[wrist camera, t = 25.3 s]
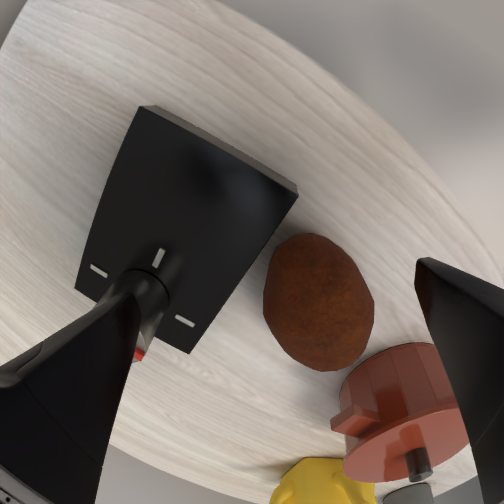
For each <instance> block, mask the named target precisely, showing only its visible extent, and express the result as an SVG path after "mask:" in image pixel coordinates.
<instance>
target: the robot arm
mask: <svg viewBox="0 0 504 504" xmlns="http://www.w3.org/2000/svg"><path fill="white" fill-rule="evenodd" d="M414 286H415V291H416V294H417V297H418V300H419V302H420V306H421V309H422V312H423V315H424V318H425V321H426V324H427V327H428V330H429V332H430V335H431V337H432V339H433V342H434V344H435V346H436V349H437V351H438V354H439V356H440V359H441V361H442V364H443V366H444V369H445V371H446V374H447V376H448V379H449V382H450V384H451V387H452V390H453V393H454V395H455V398H456V401H457V404H458V407H459V410H460V413H461V416H462V419H463V422H464V425H465V429H466V432H467V435H468V439H469V442H470V446H471V448H472V449H471V450H472V454H473V457H474V461H475V465H476V469H477V473H478V477H479V481H480V486H481V491H482V495H483V501H484V504H504V289H502V288H500V287H497V286H495V285H493V284H491V283H489V282H486V281H484V280H482V279H480V278H477V277H475V276H473V275H471V274H468V273H466V272H464V271H461V270H459V269H457V268H455V267H452V266H450V265H447V264H445V263H443V262H440V261H438V260H436V259H433V258H431V257H425V258H420V259H418V260H417V262H416V270H415V280H414ZM141 322H142V312H141V309H140V307H139V305H138V302H137V300H136V298H135V295H134V294H133V293H132V292H122V293H119V294H118V295H116V296H114V297H113V298H111V299H110V300H108V301H106V302H105V303H103V304H101V305H100V306H98V307H96V308H95V309H93V310H91V311H90V312H88V313H87V314H85V315H83V316H82V317H80V318H78V319H77V320H75V321H74V322H72V323H70V324H69V325H67V326H66V327H64V328H62V329H61V330H59V331H58V332H56V333H54V334H53V335H51V336H50V337H48V338H46V339H45V340H44V341H42V342H40V343H39V344H37V345H35V346H34V347H32V348H31V349H29V350H27V351H26V352H24V353H22V354H21V355H19V356H17V357H16V358H14V359H12V360H11V361H9V362H7V363H5V364H4V365H2V366H0V504H95V499H96V494H97V490H98V485H99V481H100V476H101V472H102V466H103V463H104V458H105V455H106V451H107V447H108V443H109V439H110V435H111V432H112V428H113V424H114V421H115V417H116V414H117V410H118V407H119V403H120V400H121V396H122V393H123V390H124V386H125V383H126V380H127V377H128V373H129V370H130V367H131V364H132V361H133V357H134V353H135V349H136V344H137V340H138V335H139V331H140V326H141Z"/></svg>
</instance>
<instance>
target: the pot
mask: <svg viewBox="0 0 504 504" xmlns="http://www.w3.org/2000/svg"><path fill="white" fill-rule="evenodd" d="M455 403H457V401H456V398H455V395H454V393H453V390H452V387H451V384H450V382H449V379H448V376H447V374H446V371H445V369H444V366H443V364H442V361H441V359H440V356H439V354H438V351H437V349H436V346H435V345H432V344H428V343H409V344H403V345H399V346H396V347H392V348H390V349H387V350H384V351H382V352H380V353H378V354H376V355H374V356H372V357H371V358H369V359H367V360H366V361H364V362H363V363H362V364H360V365H359V366H358V367H357V368H356V369H355V370H354V371H353V372H352V373H351V374H350V375H349V376H348V377H347V378H346V380H345V382H344V383H343V385H342V388H341V391H340V405H341V412H340V413H339V414H338V415H336V416H335V417H333V418H332V419H331V420H330V423H331V430H332V431H335V432H339V433H342V434H344V437H345V445H346V453H347V452H348V451H349V450H350V449H351V448H352V447H353V446H354V445H356V444H357V443H358V442H359V441H361V440H362V439H364V438H365V437H367V436H368V435H370V434H372V433H373V432H375V431H377V430H379V429H381V428H382V427H384V426H387V425H389V424H391V423H393V422H395V421H397V420H400V419H402V418H404V417H407V416H410V415H412V414H415V413H418V412H421V411H424V410H427V409H430V408H434V407H438V406H442V405H447V404H455Z"/></svg>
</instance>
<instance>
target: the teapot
mask: <svg viewBox="0 0 504 504" xmlns="http://www.w3.org/2000/svg"><path fill="white" fill-rule="evenodd" d="M342 461H343V459H333V458H304V459H302V460H301V461H300V462H299V463H297V464H296V465H295V466H294V467H293V468H292V469H291V470H289V471H288V472H287V473H286V474H285V475H284V476H283V477H282V479H281V482H280V485H279V486H278V487H277V488H276V489H275V490H274V492H273V494H272V496H271V499H270V503H269V504H377V502H376V497H375V495H374V483H367V482H359V481H355V480H352V479H350V478H348V477H347V476H346V475H345V474H344V473H343V469H342Z"/></svg>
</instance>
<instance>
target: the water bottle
mask: <svg viewBox="0 0 504 504" xmlns="http://www.w3.org/2000/svg"><path fill="white" fill-rule="evenodd" d="M383 504H434V500H433V495H432V491H431V487H430V486H429V485H428V484H416V485H411V486H408V487H405V488H402V489H399V490H397V491H395V492H393V493H391V494H389V495H388V496H387V497H385V499H384V500H383Z"/></svg>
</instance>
